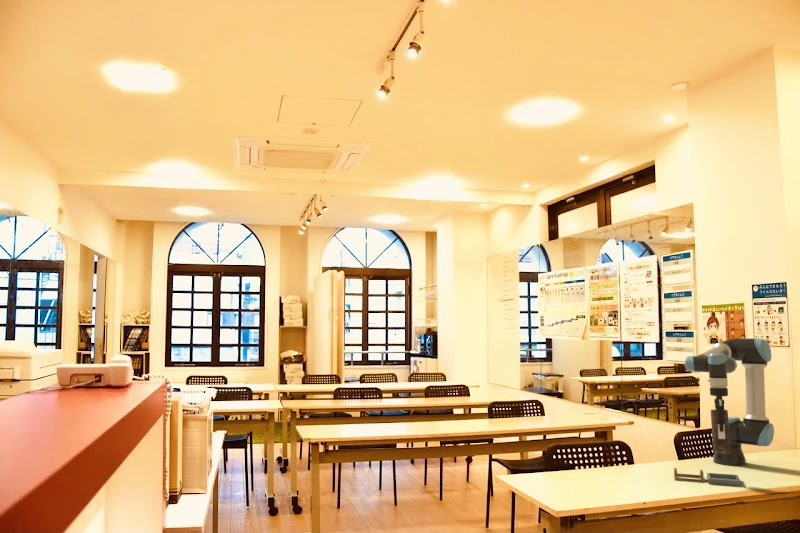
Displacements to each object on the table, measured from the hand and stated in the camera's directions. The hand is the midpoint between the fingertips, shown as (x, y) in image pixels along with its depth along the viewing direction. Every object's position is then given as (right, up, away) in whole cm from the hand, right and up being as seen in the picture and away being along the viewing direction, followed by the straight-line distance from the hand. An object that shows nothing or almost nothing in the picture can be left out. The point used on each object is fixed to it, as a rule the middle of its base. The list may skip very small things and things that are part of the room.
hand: (721, 437), depth 296 cm
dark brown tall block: (0, -7, -1) cm, 7 cm away
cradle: (-13, -21, +5) cm, 25 cm away
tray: (0, -20, -2) cm, 20 cm away
